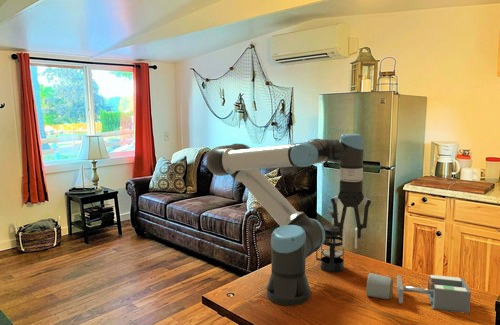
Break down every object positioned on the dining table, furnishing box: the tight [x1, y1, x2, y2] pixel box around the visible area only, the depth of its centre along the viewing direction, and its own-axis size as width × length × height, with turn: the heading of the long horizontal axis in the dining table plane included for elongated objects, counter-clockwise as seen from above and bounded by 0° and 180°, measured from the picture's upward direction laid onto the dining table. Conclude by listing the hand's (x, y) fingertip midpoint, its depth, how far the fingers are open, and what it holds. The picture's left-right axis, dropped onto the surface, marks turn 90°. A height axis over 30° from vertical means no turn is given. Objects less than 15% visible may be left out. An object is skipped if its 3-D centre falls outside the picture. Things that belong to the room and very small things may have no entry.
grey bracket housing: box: [427, 274, 472, 314], centre depth 122 cm, size 10×10×7 cm
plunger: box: [396, 274, 434, 304], centre depth 125 cm, size 12×11×7 cm
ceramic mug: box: [366, 272, 394, 300], centre depth 129 cm, size 11×8×8 cm
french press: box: [315, 211, 345, 273], centre depth 151 cm, size 12×9×23 cm
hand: (349, 246), depth 130 cm, fingers open, 3 cm apart
